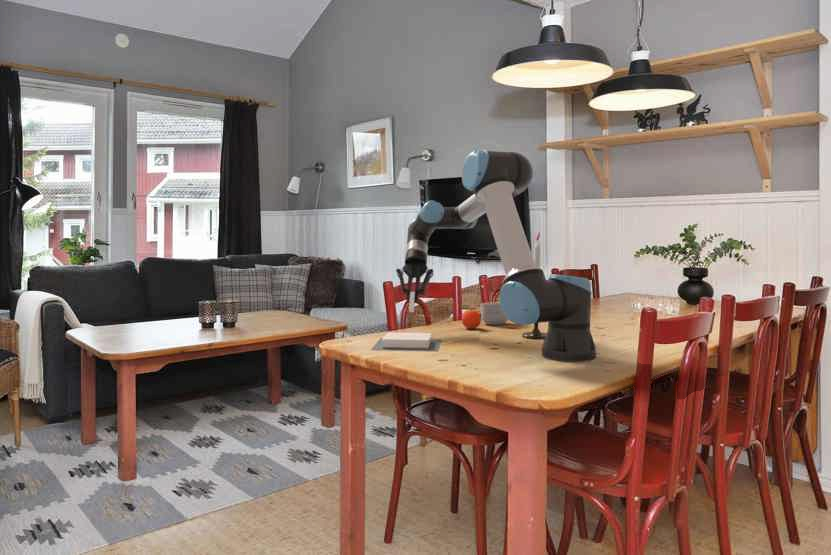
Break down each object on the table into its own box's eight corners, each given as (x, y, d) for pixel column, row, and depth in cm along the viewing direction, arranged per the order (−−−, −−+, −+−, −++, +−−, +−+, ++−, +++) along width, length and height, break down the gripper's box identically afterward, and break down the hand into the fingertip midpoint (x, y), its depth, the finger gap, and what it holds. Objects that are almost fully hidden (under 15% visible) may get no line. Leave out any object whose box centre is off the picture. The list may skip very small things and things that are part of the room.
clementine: (457, 330, 233) (457, 310, 232) (460, 326, 239) (460, 307, 239) (479, 330, 231) (479, 310, 230) (482, 327, 237) (482, 308, 237)
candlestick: (550, 334, 223) (552, 231, 220) (554, 340, 213) (556, 231, 210) (518, 333, 224) (519, 231, 221) (520, 339, 214) (521, 231, 211)
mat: (380, 339, 214) (380, 337, 214) (442, 340, 212) (442, 338, 212) (370, 351, 194) (370, 349, 194) (437, 353, 192) (437, 351, 192)
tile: (387, 332, 208) (381, 339, 196) (431, 333, 207) (428, 340, 195) (387, 340, 209) (381, 348, 197) (431, 341, 207) (428, 349, 195)
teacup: (485, 326, 239) (485, 305, 239) (476, 322, 250) (476, 301, 249) (521, 325, 242) (521, 304, 241) (511, 321, 253) (511, 300, 252)
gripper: (435, 263, 232) (431, 317, 217) (398, 262, 233) (392, 316, 218) (434, 248, 226) (430, 303, 211) (396, 248, 227) (390, 302, 212)
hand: (411, 309), depth 215 cm, fingers closed
